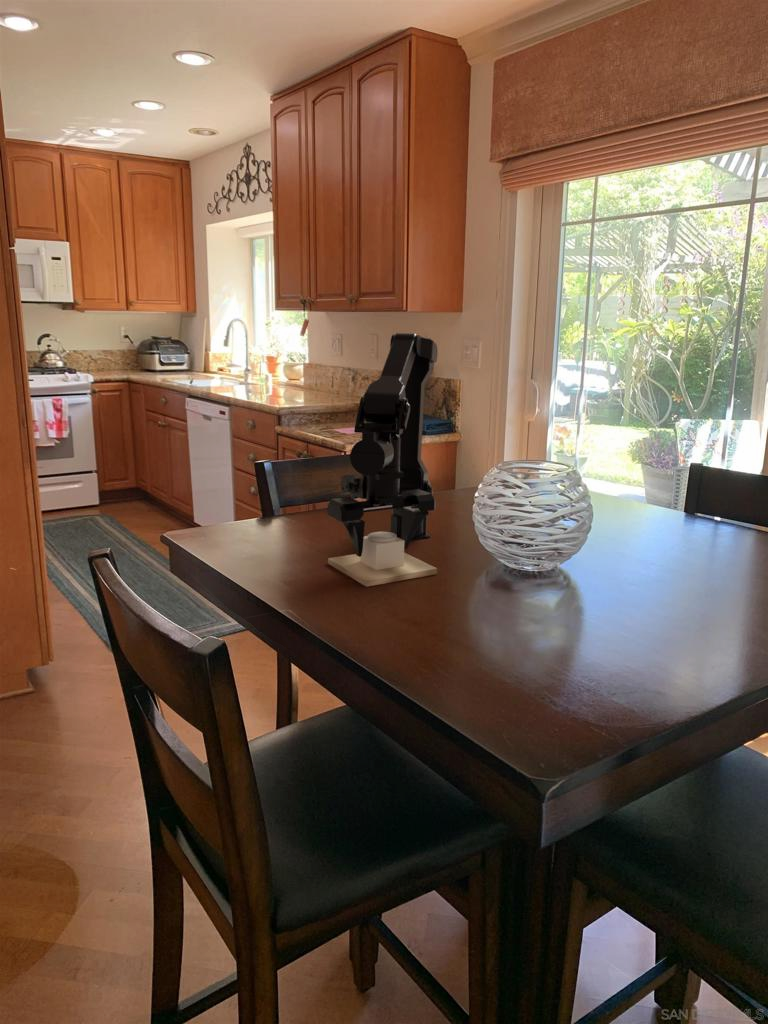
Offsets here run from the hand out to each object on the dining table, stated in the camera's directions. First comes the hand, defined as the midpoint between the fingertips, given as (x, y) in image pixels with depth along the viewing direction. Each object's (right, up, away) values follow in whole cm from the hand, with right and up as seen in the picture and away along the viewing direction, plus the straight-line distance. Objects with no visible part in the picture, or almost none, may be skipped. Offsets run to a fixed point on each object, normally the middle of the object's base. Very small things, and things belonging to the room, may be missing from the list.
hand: (381, 552), depth 132 cm
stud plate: (0, -3, +1) cm, 3 cm away
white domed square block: (0, -2, 0) cm, 2 cm away
